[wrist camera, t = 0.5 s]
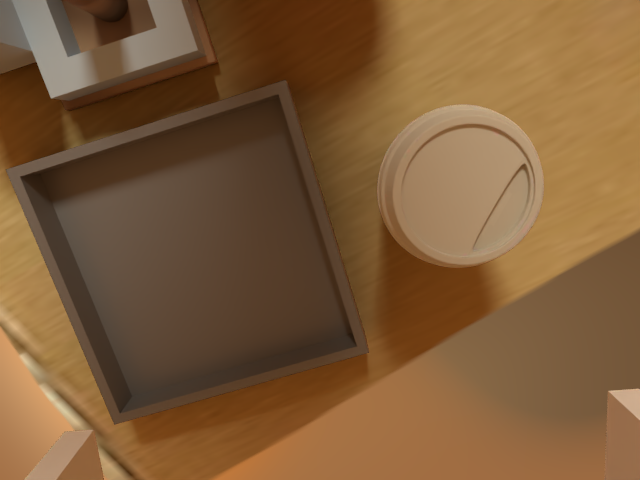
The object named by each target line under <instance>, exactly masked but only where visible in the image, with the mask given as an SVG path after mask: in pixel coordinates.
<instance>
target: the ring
mask: <svg viewBox="0 0 640 480" xmlns="http://www.w3.org/2000/svg"><path fill="white" fill-rule="evenodd" d="M147 1H148V4H149V7H150V9H151V12H152V15H153V18H154V21H155V24H156V27H157V28H154V29H151V30H148V31H145V32H142V33H139V34H136V35H133V36H130V37H127V38H124V39H121V40H118V41H115V42H112V43H109V44H106V45H103V46H100V47H97V48H94V49H91V50H88V51H85V52H82V53H81V51H80V48H79V46H78V43H77V40H76V38H75V35H74V32H73V30H72V27H71V24H70V22H69V19H68V17H67V14H66V11H65V9H64V6H63V3H62V1H61V0H0V74H2V73H5V72H8V71H11V70H14V69H17V68H20V67H23V66H26V65H29V64H32V63H35V62H37V65H38V67H39V70H40V72H41V75H42V77H43V80H44V82H45V85H46V87H47V90H48V92H49V95H50V97H51V98H52V99H59V100H67V101H70V100H73V99H76V98H79V97H82V96H85V95H88V94H91V93H94V92H97V91H100V90H103V89H106V88H109V87H113V86H116V85H119V84H122V83H125V82H128V81H131V80H134V79H137V78H140V77H143V76H146V75H149V74H152V73H155V72H158V71H161V70H164V69H167V68H170V67H173V66H177V65H180V64H183V63H186V62H189V61H192V60H195V59H198V58H201V57H204V56H206V53H205V50H204V47H203V44H202V41H201V38H200V35H199V32H198V29H197V26H196V23H195V20H194V17H193V14H192V11H191V8H190V5H189V2H188V0H147Z"/></svg>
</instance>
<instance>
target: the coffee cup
mask: <svg viewBox="0 0 640 480" xmlns="http://www.w3.org/2000/svg"><path fill="white" fill-rule="evenodd" d="M543 194H544V179H543V171H542V167H541V163H540V160H539V157H538V154H537V152H536V150H535V148H534V146H533V144H532V142H531V141H530V139H529V138H528V136H527V135H526V134H525V133H524V131H523V130H522V129H521V128H520V127H519V126H518V125H516V124H515V123H514V122H513V121H511V120H510V119H508V118H507V117H505V116H503V115H501V114H499V113H497V112H495V111H493V110H490V109H487V108H484V107H480V106H475V105H451V106H446V107H441V108H438V109H435V110H432V111H430V112H428V113H426V114H424V115H422V116H420V117H418V118H417V119H415V120H414V121H412V122H411V123H410V124H409V125H407V126H406V127H405V128H404V129H403V130H402V131H401V132H400V133H399V134H398V136H397V137H396V138H395V139H394V141H393V142H392V144H391V145H390V147H389V148H388V150H387V152H386V154H385V156H384V159H383V161H382V164H381V167H380V171H379V176H378V184H377V197H378V204H379V209H380V213H381V216H382V219H383V221H384V223H385V225H386V227H387V229H388V231H389V232H390V234H391V235H392V237H393V238H394V239H395V240H396V241H397V243H398V244H399V245H400V246H401V247H403V248H404V249H405V250H406V251H407V252H409V253H410V254H412V255H413V256H415V257H417V258H419V259H421V260H423V261H425V262H428V263H431V264H435V265H438V266H443V267H450V268H465V267H472V266H477V265H480V264H484V263H487V262H489V261H492V260H494V259H496V258H498V257H500V256H502V255H504V254H505V253H507V252H508V251H510V250H511V249H513V248H514V247H515V246H516V245H517V244H518V243H519V242H520V241H521V240H522V239H523V238H524V237H525V236H526V235H527V233H528V232H529V231H530V229H531V228H532V226H533V224H534V223H535V221H536V219H537V216H538V214H539V211H540V208H541V205H542V200H543Z"/></svg>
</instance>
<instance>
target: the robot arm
mask: <svg viewBox="0 0 640 480" xmlns="http://www.w3.org/2000/svg"><path fill="white" fill-rule="evenodd" d="M24 480H104V478H103V473H102V468H101V463H100V458H99V452H98V447H97V442H96V437H95V432H94V430H81V431H69V432H68V431H67V432H64V433H63V434H62V435H61V437H60V438H59V439H58V440H57V441H56V442H55V444H54V445H53V446H52V447H51V448H50V450H49V451H48V452H47V453H46V454H45V456H44V457H43V458H42V459H41V460H40V461H39V463H38V464H37V465H36V466H35V467H34V469H33V470H32V471H31V472H30V473H29V475H28V476H27V477H26V478H25V479H24ZM605 480H640V389H629V390H616V391H608V407H607V433H606V459H605Z"/></svg>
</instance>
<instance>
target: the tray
mask: <svg viewBox="0 0 640 480" xmlns="http://www.w3.org/2000/svg"><path fill="white" fill-rule="evenodd" d="M6 171H7V174H8V176H9V178H10V181H11V183H12V186H13V188H14V190H15V193H16V195H17V197H18V200H19V202H20V204H21V207H22V209H23V211H24V214H25V216H26V218H27V221H28V223H29V225H30V228H31V230H32V232H33V235H34V237H35V239H36V242H37V244H38V247H39V249H40V251H41V254H42V256H43V258H44V261H45V263H46V265H47V268H48V270H49V272H50V275H51V277H52V279H53V282H54V284H55V286H56V289H57V291H58V293H59V296H60V298H61V300H62V303H63V305H64V308H65V310H66V312H67V315H68V317H69V319H70V322H71V324H72V326H73V329H74V331H75V333H76V336H77V338H78V340H79V343H80V345H81V347H82V350H83V352H84V354H85V357H86V359H87V361H88V364H89V366H90V369H91V371H92V373H93V376H94V378H95V380H96V383H97V385H98V387H99V390H100V392H101V394H102V397H103V399H104V401H105V404H106V406H107V408H108V411H109V413H110V415H111V418H112V420H113V422H114V425H115V424H118V423H122V422H125V421H129V420H132V419H136V418H139V417H143V416H146V415H150V414H154V413H157V412H161V411H164V410H168V409H171V408H175V407H178V406H182V405H185V404H189V403H192V402H196V401H200V400H203V399H207V398H210V397H214V396H217V395H221V394H224V393H228V392H231V391H235V390H238V389H242V388H246V387H249V386H253V385H256V384H260V383H263V382H267V381H270V380H274V379H277V378H281V377H284V376H288V375H292V374H295V373H299V372H302V371H306V370H309V369H313V368H316V367H320V366H323V365H327V364H330V363H334V362H338V361H341V360H345V359H348V358H352V357H355V356H359V355H362V354H366V353H369V349H368V345H367V340H366V335H365V332H364V329H363V326H362V322H361V319H360V316H359V313H358V309H357V306H356V303H355V299H354V296H353V293H352V290H351V286H350V283H349V280H348V277H347V273H346V270H345V267H344V264H343V260H342V257H341V254H340V250H339V247H338V244H337V241H336V237H335V234H334V231H333V228H332V224H331V221H330V218H329V215H328V211H327V208H326V205H325V202H324V198H323V195H322V192H321V188H320V185H319V182H318V179H317V175H316V172H315V169H314V166H313V162H312V159H311V156H310V153H309V149H308V146H307V143H306V139H305V136H304V133H303V130H302V126H301V123H300V120H299V117H298V113H297V110H296V107H295V104H294V100H293V97H292V94H291V91H290V87H289V84H288V83H287V81H286V80H283V81H280V82H277V83H274V84H271V85H267V86H264V87H261V88H258V89H255V90H252V91H249V92H246V93H243V94H239V95H236V96H233V97H230V98H227V99H224V100H221V101H218V102H215V103H211V104H208V105H205V106H202V107H199V108H196V109H193V110H190V111H187V112H183V113H180V114H177V115H174V116H171V117H168V118H165V119H162V120H158V121H155V122H152V123H149V124H146V125H143V126H140V127H137V128H134V129H130V130H127V131H124V132H121V133H118V134H115V135H112V136H109V137H106V138H102V139H99V140H96V141H93V142H90V143H87V144H84V145H81V146H78V147H74V148H71V149H68V150H65V151H62V152H59V153H56V154H53V155H50V156H46V157H43V158H40V159H37V160H34V161H31V162H28V163H25V164H22V165H18V166H15V167H12V168H9V169H6Z"/></svg>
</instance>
